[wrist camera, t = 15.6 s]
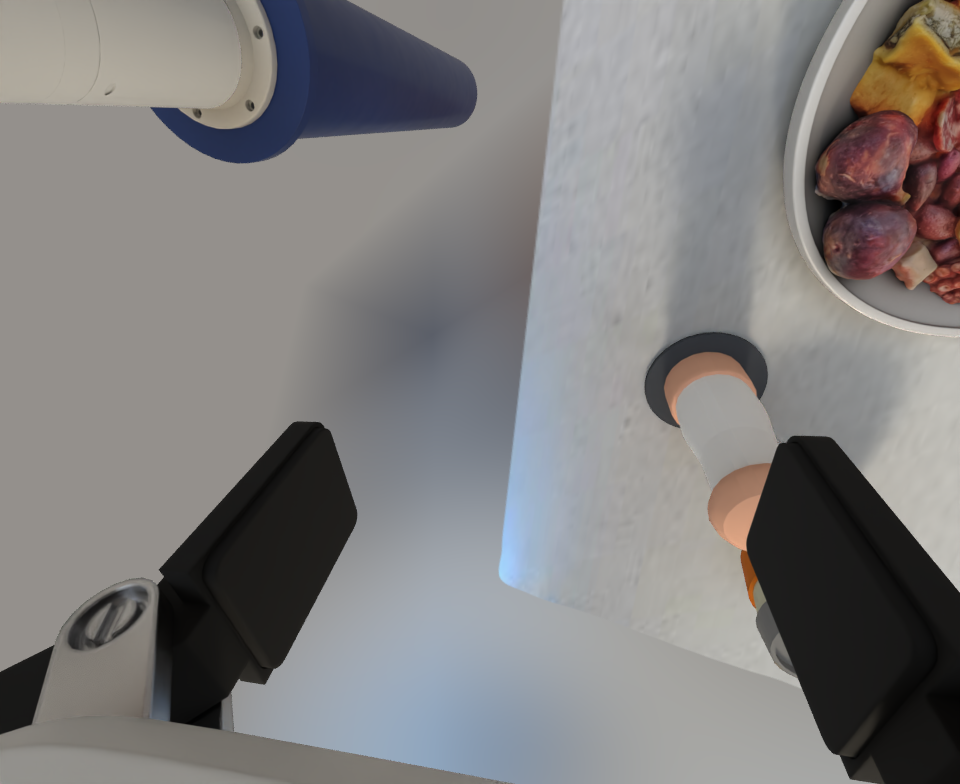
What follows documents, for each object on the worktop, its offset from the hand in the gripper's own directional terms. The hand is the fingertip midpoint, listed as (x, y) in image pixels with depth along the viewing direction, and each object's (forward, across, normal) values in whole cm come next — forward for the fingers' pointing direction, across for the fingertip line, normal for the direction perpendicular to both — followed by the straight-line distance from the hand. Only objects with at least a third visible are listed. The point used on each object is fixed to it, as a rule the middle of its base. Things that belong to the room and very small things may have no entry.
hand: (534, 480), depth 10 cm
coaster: (+33, -14, +17) cm, 40 cm away
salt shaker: (+33, -14, +17) cm, 40 cm away
